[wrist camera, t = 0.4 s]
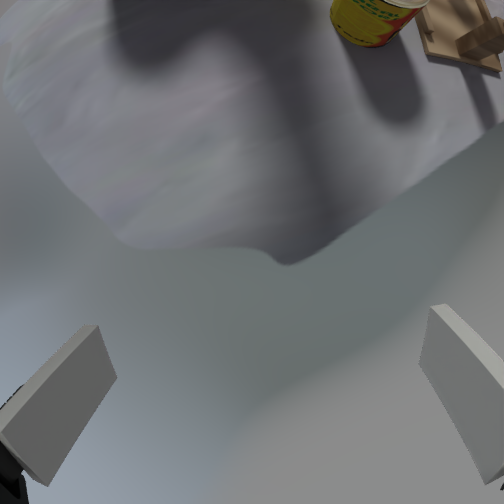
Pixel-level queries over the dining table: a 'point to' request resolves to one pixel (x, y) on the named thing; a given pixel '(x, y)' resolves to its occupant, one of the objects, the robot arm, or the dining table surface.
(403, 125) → the dining table surface
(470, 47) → the knobbed wooden cradle
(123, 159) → the dining table surface
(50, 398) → the robot arm
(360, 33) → the beverage can
